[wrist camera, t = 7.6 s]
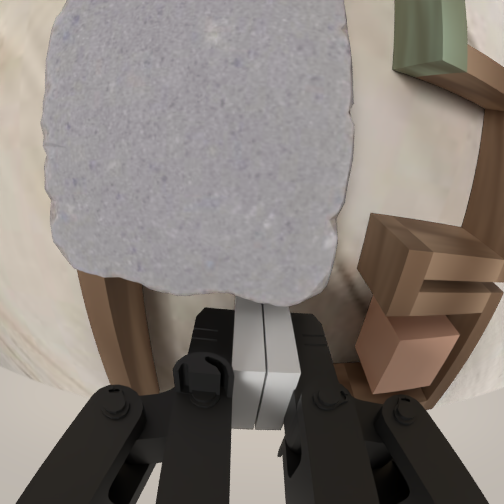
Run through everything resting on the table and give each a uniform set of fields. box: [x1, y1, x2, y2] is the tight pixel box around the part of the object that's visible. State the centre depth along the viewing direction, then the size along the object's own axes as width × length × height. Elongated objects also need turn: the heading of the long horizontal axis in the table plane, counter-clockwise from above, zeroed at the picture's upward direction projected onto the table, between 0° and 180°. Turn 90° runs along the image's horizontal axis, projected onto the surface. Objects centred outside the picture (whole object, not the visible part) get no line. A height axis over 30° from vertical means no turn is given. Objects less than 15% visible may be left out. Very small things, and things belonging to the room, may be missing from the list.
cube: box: [355, 295, 460, 394], centre depth 15 cm, size 4×4×4 cm
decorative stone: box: [41, 0, 354, 307], centre depth 8 cm, size 15×7×10 cm
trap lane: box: [77, 0, 504, 410], centre depth 10 cm, size 20×33×4 cm, turn 175°
